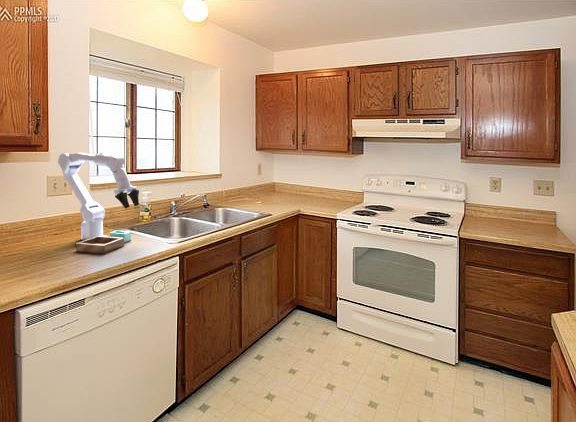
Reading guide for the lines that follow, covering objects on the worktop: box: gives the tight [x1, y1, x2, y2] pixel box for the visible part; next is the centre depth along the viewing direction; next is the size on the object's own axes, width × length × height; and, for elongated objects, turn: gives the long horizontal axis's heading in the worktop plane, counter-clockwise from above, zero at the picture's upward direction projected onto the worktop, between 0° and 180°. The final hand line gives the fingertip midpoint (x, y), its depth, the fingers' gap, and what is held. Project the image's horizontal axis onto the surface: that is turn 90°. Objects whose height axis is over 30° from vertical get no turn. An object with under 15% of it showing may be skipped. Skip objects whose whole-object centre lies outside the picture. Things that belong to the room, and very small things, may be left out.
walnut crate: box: [75, 235, 125, 254], centre depth 174 cm, size 14×14×4 cm
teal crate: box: [109, 229, 132, 243], centre depth 188 cm, size 8×5×4 cm, turn 78°
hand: (132, 206), depth 184 cm, fingers open, 7 cm apart
